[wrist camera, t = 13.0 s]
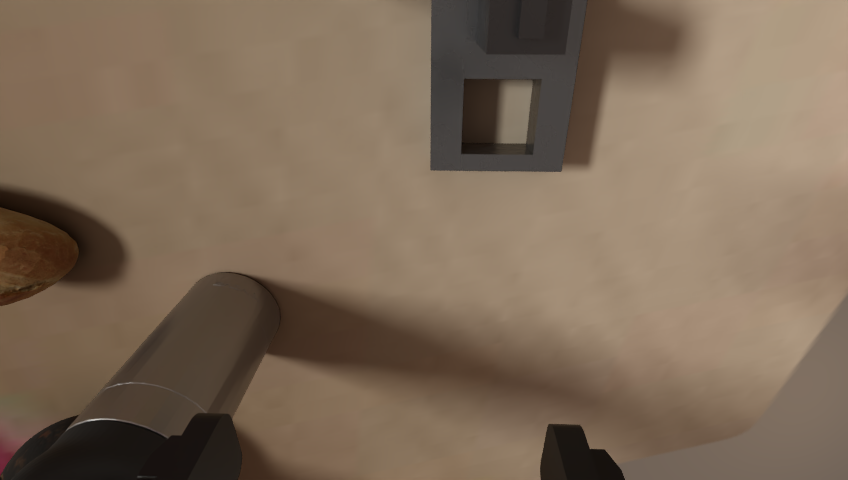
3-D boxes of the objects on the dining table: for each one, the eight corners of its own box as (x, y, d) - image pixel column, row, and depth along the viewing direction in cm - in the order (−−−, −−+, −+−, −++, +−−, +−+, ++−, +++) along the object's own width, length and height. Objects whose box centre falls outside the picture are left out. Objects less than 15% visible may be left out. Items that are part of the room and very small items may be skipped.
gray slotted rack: (552, 159, 36) (598, 222, 26) (431, 158, 37) (427, 220, 26) (603, -202, 26) (714, -343, 15) (433, -199, 26) (428, -336, 16)
